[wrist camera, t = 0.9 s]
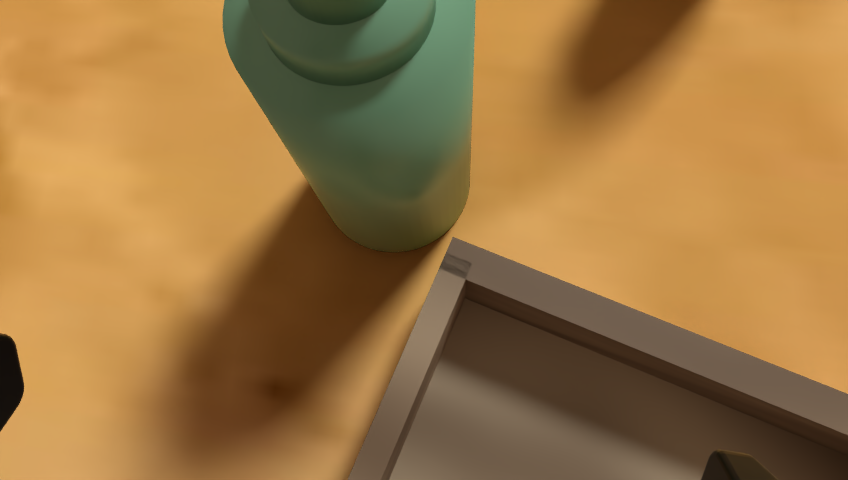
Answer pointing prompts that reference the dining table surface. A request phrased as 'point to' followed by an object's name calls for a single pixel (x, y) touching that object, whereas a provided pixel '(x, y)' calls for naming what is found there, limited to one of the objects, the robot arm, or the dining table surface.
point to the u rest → (582, 391)
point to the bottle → (367, 106)
